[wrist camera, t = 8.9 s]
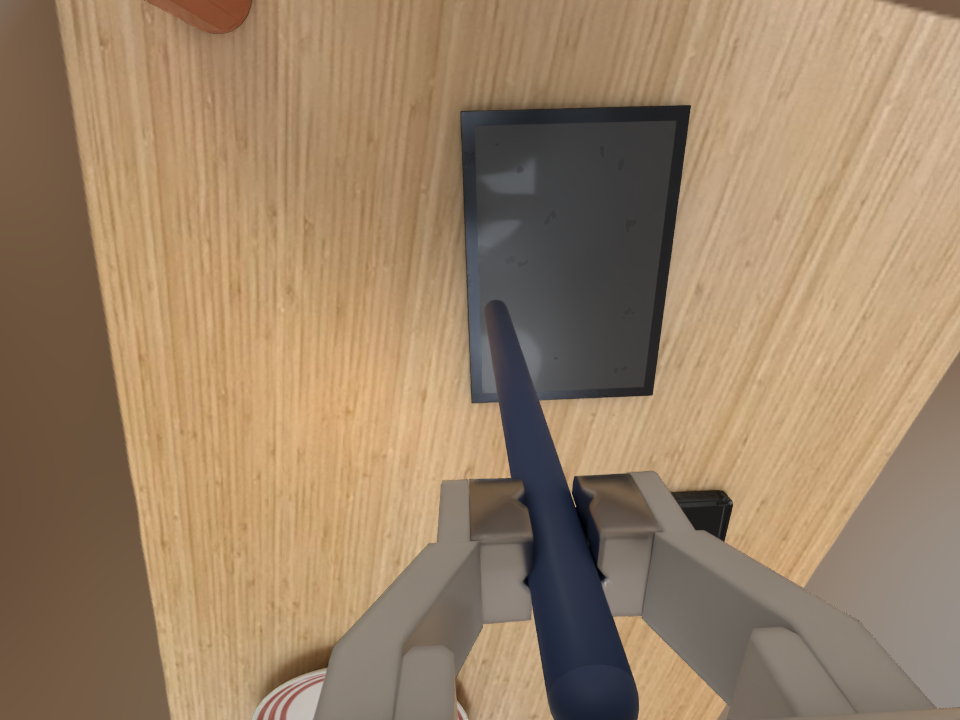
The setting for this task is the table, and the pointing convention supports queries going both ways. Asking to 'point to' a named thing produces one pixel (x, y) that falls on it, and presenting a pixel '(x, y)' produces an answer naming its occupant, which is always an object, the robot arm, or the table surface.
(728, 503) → the phone
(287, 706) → the dinner plate
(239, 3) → the holder
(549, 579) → the stylus
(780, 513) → the table surface
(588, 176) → the tablet
